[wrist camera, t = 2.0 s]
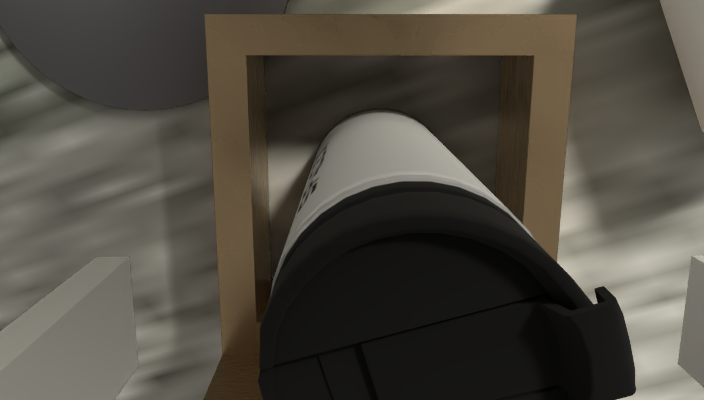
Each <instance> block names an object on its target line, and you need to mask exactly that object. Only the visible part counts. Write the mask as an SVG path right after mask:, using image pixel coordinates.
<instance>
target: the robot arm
mask: <svg viewBox="0 0 704 400" xmlns="http://www.w3.org/2000/svg"><path fill="white" fill-rule="evenodd" d="M678 364H679V365H680V366H681V367H682V368H683V369H684V370H685V371H686V372H687V373H688V374H689V375H691V376H692V377H693V378H694V379H695V380H696V381H697V382H698V383H699V384H700V385H701V386H703V387H704V256H691V264H690V272H689V280H688V288H687V296H686V304H685V311H684V319H683V327H682V335H681V343H680V351H679V359H678ZM137 367H138V354H137V342H136V330H135V318H134V306H133V294H132V282H131V270H130V258H129V257H95V258H94V259H93V260H92V261H90V262H89V263H88V264H86V265H85V266H84V267H82V268H81V269H80V270H79V271H77V272H76V273H75V274H73V275H72V276H71V277H70V278H68V279H67V280H66V281H64V282H63V283H62V284H61V285H59V286H58V287H57V288H55V289H54V290H53V291H51V292H50V293H49V294H48V295H46V296H45V297H44V298H42V299H41V300H40V301H39V302H37V303H36V304H35V305H33V306H32V307H31V308H30V309H28V310H27V311H26V312H24V313H23V314H22V315H20V316H19V317H18V318H17V319H15V320H14V321H13V322H11V323H10V324H9V325H8V326H6V327H5V328H4V329H2V330H1V331H0V400H115V398H116V397H117V396H118V394H119V393H120V391H121V390H122V388H123V387H124V385H125V384H126V383H127V381H128V380H129V378H130V377H131V375H132V374H133V372H134V371H135V369H136V368H137Z"/></svg>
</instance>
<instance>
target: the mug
mask: <svg viewBox="0 0 704 400" xmlns="http://www.w3.org/2000/svg"><path fill="white" fill-rule="evenodd" d="M660 3H661V6H662V10H663V13H664V16H665V19H666V22H667V25H668V28H669V31H670V34H671V37H672V41H673V44H674V47H675V50H676V53H677V56H678V59H679V62H680V65H681V69H682V72H683V75H684V78H685V81H686V84H687V87H688V90H689V93H690V96H691V100H692V103H693V106H694V109H695V112H696V115H697V118H698V121H699V124H700V128H701V130H702V132H703V133H704V0H660Z"/></svg>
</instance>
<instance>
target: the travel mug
mask: <svg viewBox="0 0 704 400" xmlns="http://www.w3.org/2000/svg"><path fill="white" fill-rule="evenodd" d="M595 293H596V298H597V302H598V304H594V305H593V303H592V302H591V301H590V300H589V298H588V297H587V296H586V295H585V293H584V292H583V291H582V290H581V288H580V287H579V286H578V285H577V283H576V282H575V281H574V280H573V279H572V278H571V277H570V276H569V274H568V273H567V272H566V271H565V270H564V269H563V268H562V267H561V266H560V265H559V264H558V263H557V262H556V261H555V260H554V259H553V258H552V257H551V256H550V255H549V254H548V253H547V252H546V251H545V250H544V249H543V248H542V247H541V246H540V245H539V244H538V243H537V242H536V241H535V239H534V238H533V236H532V234H531V233H530V231H529V230H528V229H527V228H526V227H525V226H524V225H523V224H522V223H521V222H520V221H519V220H518V219H517V218H516V217H515V216H514V215H513V214H512V213H511V212H510V210H508V209H507V208H506V207H505V206H504V205H503V204H502V203H501V202H500V201H499V200H498V199H497V198H496V197H495V196H494V195H493V194H492V193H491V192H490V191H489V190H488V189H487V188H486V187H485V186H484V185H483V184H482V183H481V182H480V181H479V180H478V179H477V178H476V177H475V176H474V175H473V174H472V173H471V172H470V171H469V170H468V169H467V168H466V167H465V166H464V165H463V164H462V163H461V162H460V161H459V160H458V159H457V158H456V157H455V156H454V155H453V154H452V153H451V152H450V151H449V150H448V149H447V148H446V147H445V146H444V145H443V144H442V143H441V142H440V141H439V140H438V139H437V138H436V137H435V136H434V135H433V134H432V133H431V132H430V131H429V130H428V129H427V128H426V127H425V126H424V125H423V124H421V123H420V122H418V121H417V120H416V119H414V118H413V117H411V116H409V115H406V114H404V113H402V112H399V111H395V110H390V109H370V110H365V111H360V112H357V113H355V114H353V115H350V116H348V117H346V118H345V119H343V120H342V121H340V122H339V123H337V124H336V125H335V126H334V127H333V128H332V129H331V130H330V131H329V132H328V134H327V135H326V137H325V138H324V140H323V141H322V143H321V145H320V147H319V149H318V152H317V154H316V157H315V160H314V163H313V166H312V169H311V172H310V174H309V177H308V180H307V183H306V186H305V189H304V192H303V195H302V198H301V200H300V203H299V206H298V209H297V212H296V215H295V218H294V221H293V224H292V227H291V229H290V232H289V235H288V238H287V241H286V244H285V247H284V250H283V253H282V255H281V258H280V261H279V264H278V268H277V270H276V273H275V276H274V279H273V284H272V289H271V295H270V299H269V302H268V305H267V308H266V311H265V314H264V317H263V321H262V323H261V326H260V362H259V369H260V373H259V379H258V383H259V387H260V391H261V394H262V398H263V400H616V399H620V398H624V397H628V396H631V395H633V394H634V393H635V391H636V386H635V367H634V361H633V356H632V350H631V344H630V340H629V336H628V332H627V328H626V324H625V320H624V316H623V313H622V311H621V309H620V306H619V304H618V302H617V300H616V298H615V297H614V296H613V295H612V294H611V293H610V292H609V291H608V290H607V289H606V288H605V287H604V286H603V287H599V288H595Z"/></svg>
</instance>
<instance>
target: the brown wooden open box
mask: <svg viewBox="0 0 704 400" xmlns="http://www.w3.org/2000/svg"><path fill="white" fill-rule="evenodd" d="M576 21H577V14H205V33H206V52H207V71H208V90H209V108H210V127H211V146H212V165H213V184H214V203H215V222H216V241H217V260H218V279H219V298H220V317H221V336H222V354H223V355H222V357H221V360H220V362H219V364H218V367H217V369H216V372H215V374H214V376H213V379H212V381H211V383H210V386H209V388H208V390H207V393H206V395H205V397H204V400H263V398H262V394H261V391H260V387H259V383H258V379H259V373H260V369H259V362H260V326H261V323H262V321H263V317H264V314H265V311H266V308H267V305H268V302H269V299H270V295H271V289H272V284H273V280H271V256H270V224H269V193H268V162H267V130H266V99H265V67H264V55H503V63H502V81H501V99H500V117H499V134H498V152H497V170H496V188H495V197H496V198H497V199H498V200H499V201H500V202H501V203H502V204H503V205H504V206H505V207H506V208H507V209H508V210H510V212H511V213H512V214H513V215H514V216H515V217H516V218H517V219H518V220H519V221H520V222H521V223H522V224H523V225H524V226H525V227H526V228H527V229H528V230H529V231H530V233H531V234H532V236H533V238H534V239H535V241H536V242H537V243H538V244H539V245H540V246H541V247H542V248H543V249H544V250H545V251H546V252H547V253H548V254H549V255H550V256H551V257H552V258H553V259H554V260H555V261H556V262H557V253H558V241H559V229H560V217H561V204H562V192H563V180H564V168H565V155H566V143H567V131H568V119H569V106H570V94H571V82H572V70H573V57H574V45H575V33H576Z"/></svg>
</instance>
